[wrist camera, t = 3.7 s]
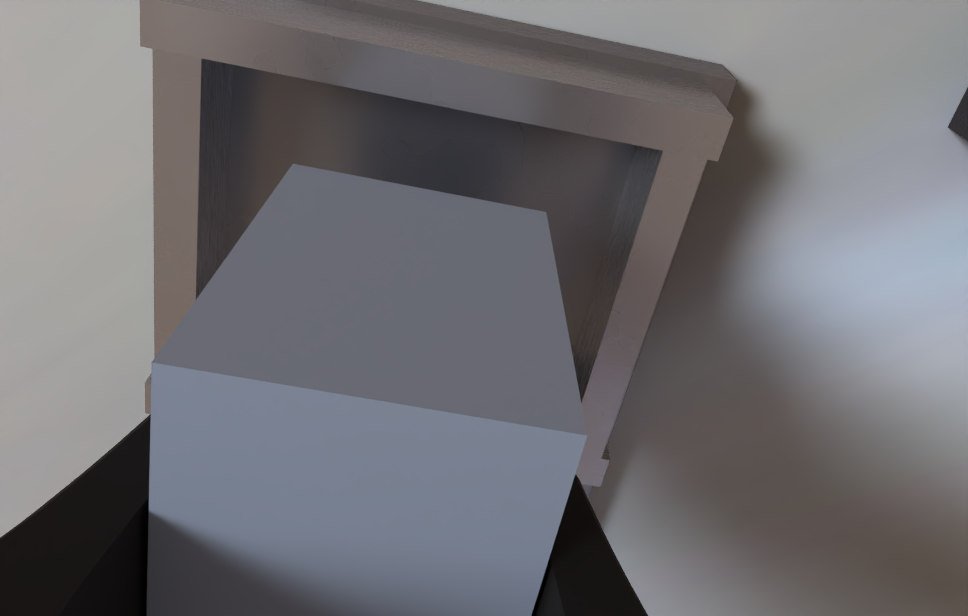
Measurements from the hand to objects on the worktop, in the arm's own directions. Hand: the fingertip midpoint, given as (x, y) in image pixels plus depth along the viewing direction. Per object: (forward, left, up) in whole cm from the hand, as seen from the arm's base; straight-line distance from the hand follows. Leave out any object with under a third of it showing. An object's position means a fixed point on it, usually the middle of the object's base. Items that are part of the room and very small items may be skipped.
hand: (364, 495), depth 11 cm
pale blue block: (0, 0, -4) cm, 4 cm away
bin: (-4, 0, -9) cm, 10 cm away
